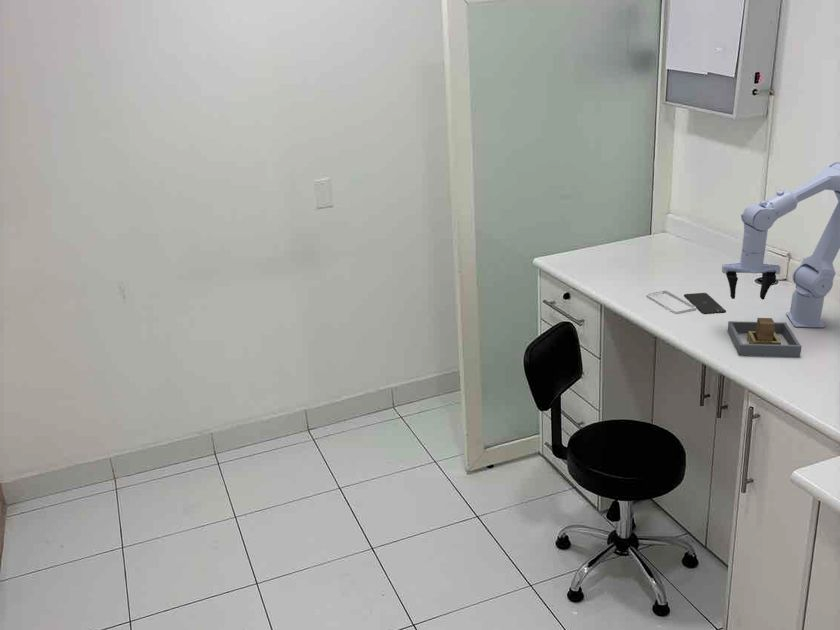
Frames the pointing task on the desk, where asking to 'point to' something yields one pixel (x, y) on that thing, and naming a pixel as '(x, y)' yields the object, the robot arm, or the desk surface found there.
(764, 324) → the walnut peg
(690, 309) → the phone case
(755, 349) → the walled box
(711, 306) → the smartphone
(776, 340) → the frame
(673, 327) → the desk surface
